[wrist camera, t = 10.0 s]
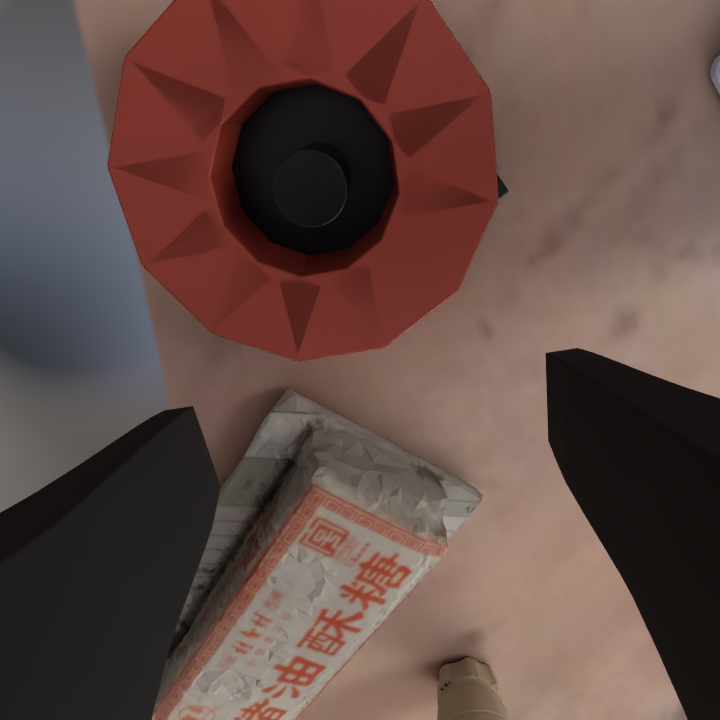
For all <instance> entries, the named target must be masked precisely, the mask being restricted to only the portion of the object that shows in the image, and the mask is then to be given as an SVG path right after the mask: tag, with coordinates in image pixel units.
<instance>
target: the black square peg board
mask: <svg viewBox="0 0 720 720" xmlns="http://www.w3.org/2000/svg"><path fill="white" fill-rule="evenodd" d="M231 168H232V172H233V176H234V180H235V184H236V188H237V191H238V195H239V199H240V203H241V207H242V210H243V212H244V213H245V214H246V215H247V216H248V217H249V218H250V220H251V221H252V222H253V223H254V224H255V225H256V226H257V227H258V228H259V229H260V231H261V232H262V233H263V234H264V235H265V236H266V237H267V238H268V239H269V240H270V242H272V243H275V244H278V245H281V246H284V247H286V248H289V249H292V250H295V251H298V252H301V253H303V254H306V255H314V254H320V253H325V252H331V251H336V250H342V249H348V248H349V247H351V246H352V245H353V244H354V243H355V242H356V241H358V240H359V239H360V238H361V237H362V236H364V235H365V234H366V233H367V232H368V231H369V230H371V229H372V228H373V227H374V226H375V225H377V224H378V223H379V221H380V218H381V216H382V213H383V210H384V207H385V205H386V202H387V199H388V197H389V194H390V191H391V188H392V186H393V183H394V180H393V173H392V167H391V160H390V153H389V146H388V139H387V137H386V135H385V134H384V133H383V131H382V130H381V129H380V127H379V126H378V125H377V123H376V122H375V121H374V120H373V118H372V117H371V116H370V114H369V113H368V112H367V110H366V109H365V108H364V106H363V105H362V104H361V102H360V101H358V100H356V99H353V98H351V97H348V96H346V95H343V94H341V93H338V92H336V91H333V90H331V89H328V88H326V87H323V86H321V85H318V84H315V85H310V86H305V87H300V88H295V89H290V90H285V91H280V92H275V93H273V94H272V95H271V96H270V97H269V98H268V99H267V100H266V101H265V102H264V103H263V104H262V105H261V106H260V107H259V108H258V109H257V110H256V111H255V112H254V113H253V114H252V115H251V116H250V117H249V118H248V119H247V120H246V121H245V122H244V123H243V124H242V127H241V131H240V135H239V139H238V143H237V147H236V151H235V155H234V159H233V163H232V167H231ZM497 186H498V200H499V199H500V198H501V197H502V196H504V195H505V194H506V193H507V192H508V189H507V188H506V186H505V185H504V183H503V182H502V180H501V179H500V178H499V176H498V175H497Z"/></svg>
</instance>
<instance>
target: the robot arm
mask: <svg viewBox="0 0 720 720" xmlns="http://www.w3.org/2000/svg"><path fill="white" fill-rule="evenodd" d="M710 75H711V79H712V81H713V83H714V85H715V87H716V89H717V91H718V93H719V95H720V54H719V55H718V57H717V58H716V59H715V60H714V62H713V64H712V66H711V70H710ZM546 378H547V410H548V441H549V443H550V446H551V448H552V451H553V453H554V456H555V458H556V461H557V463H558V466H559V468H560V470H561V473H562V475H563V477H564V480H565V482H566V484H567V485H568V487H569V489H570V491H571V492H572V494H573V496H574V497H575V499H576V501H577V502H578V504H579V506H580V508H581V509H582V511H583V513H584V514H585V516H586V518H587V519H588V521H589V523H590V524H591V526H592V528H593V529H594V531H595V533H596V534H597V536H598V538H599V539H600V541H601V543H602V544H603V546H604V548H605V549H606V551H607V553H608V554H609V556H610V558H611V559H612V561H613V563H614V564H615V566H616V568H617V569H618V571H619V573H620V574H621V576H622V578H623V580H624V582H625V584H626V585H627V587H628V589H629V591H630V593H631V595H632V597H633V598H634V601H635V603H636V605H637V607H638V609H639V611H640V613H641V616H642V618H643V620H644V622H645V624H646V626H647V629H648V631H649V633H650V635H651V637H652V639H653V642H654V644H655V646H656V648H657V650H658V652H659V655H660V657H661V659H662V661H663V664H664V666H665V668H666V671H667V673H668V675H669V677H670V680H671V682H672V684H673V686H674V689H675V691H676V693H677V696H678V698H679V700H680V702H681V705H682V707H683V709H684V711H685V714H686V716H687V719H688V720H720V398H717V397H713V396H710V395H707V394H704V393H701V392H698V391H695V390H692V389H689V388H686V387H683V386H680V385H677V384H674V383H672V382H669V381H666V380H663V379H661V378H658V377H655V376H653V375H650V374H647V373H645V372H642V371H639V370H637V369H634V368H632V367H629V366H627V365H624V364H622V363H619V362H616V361H614V360H611V359H609V358H606V357H603V356H601V355H598V354H595V353H592V352H589V351H586V350H583V349H578V348H576V349H569V350H563V351H556V352H549V353H546ZM219 491H220V483H219V480H218V478H217V475H216V472H215V469H214V466H213V463H212V460H211V457H210V454H209V451H208V448H207V445H206V443H205V440H204V437H203V434H202V431H201V428H200V425H199V422H198V419H197V416H196V413H195V410H194V408H193V406H191V407H185V408H178V409H172V410H165V411H163V412H161V413H159V414H157V415H155V416H153V417H151V418H149V419H148V420H146V421H145V422H143V423H141V424H140V425H138V426H137V427H135V428H134V429H132V430H131V431H129V432H128V433H126V434H125V435H123V436H122V437H120V438H119V439H117V440H116V441H114V442H113V443H111V444H110V445H108V446H107V447H105V448H104V449H102V450H101V451H99V452H98V453H96V454H95V455H93V456H92V457H90V458H89V459H88V460H86V461H85V462H83V463H81V464H80V465H78V466H77V467H75V468H74V469H72V470H70V471H69V472H67V473H66V474H64V475H63V476H61V477H59V478H58V479H56V480H55V481H53V482H52V483H50V484H48V485H47V486H45V487H44V488H42V489H41V490H39V491H37V492H36V493H34V494H32V495H31V496H29V497H28V498H26V499H24V500H22V501H20V502H19V503H17V504H15V505H13V506H12V507H10V508H8V509H6V510H4V511H2V512H1V513H0V720H152V716H153V712H154V707H155V703H156V699H157V695H158V691H159V687H160V683H161V679H162V675H163V671H164V667H165V663H166V659H167V655H168V652H169V648H170V645H171V642H172V639H173V636H174V633H175V630H176V627H177V624H178V621H179V618H180V616H181V613H182V610H183V608H184V605H185V602H186V599H187V597H188V594H189V591H190V588H191V586H192V583H193V580H194V578H195V575H196V572H197V569H198V567H199V564H200V561H201V558H202V556H203V553H204V550H205V547H206V544H207V542H208V539H209V536H210V533H211V530H212V526H213V522H214V517H215V513H216V508H217V502H218V497H219Z"/></svg>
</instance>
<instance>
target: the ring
mask: <svg viewBox="0 0 720 720" xmlns="http://www.w3.org/2000/svg"><path fill="white" fill-rule="evenodd" d="M315 84H318V85H321V86H323V87H326V88H328V89H331V90H333V91H336V92H338V93H341V94H343V95H346V96H348V97H351V98H353V99H356V100H358V101H360V102H361V104H362V105H363V106H364V108H365V109H366V110H367V112H368V113H369V114H370V116H371V117H372V118H373V120H374V121H375V122H376V123H377V125H378V126H379V127H380V129H381V130H382V131H383V133H384V134H385V135H386V137H387V139H388V146H389V153H390V160H391V167H392V173H393V180H394V183H393V186H392V188H391V191H390V194H389V197H388V199H387V202H386V205H385V207H384V210H383V213H382V216H381V218H380V221H379V223H378V224H377V225H375V226H374V227H373V228H372V229H371V230H369V231H368V232H367V233H366V234H365V235H364V236H362V237H361V238H360V239H359V240H358V241H356V242H355V243H354V244H353V245H352V246H351V247H349V248H348V249H342V250H336V251H331V252H325V253H320V254H314V255H306V254H303V253H301V252H298V251H295V250H292V249H289V248H286V247H284V246H281V245H278V244H275V243H272V242H270V240H269V239H268V238H267V237H266V236H265V235H264V234H263V233H262V232H261V231H260V229H259V228H258V227H257V226H256V225H255V224H254V223H253V222H252V221H251V220H250V218H249V217H248V216H247V215H246V214H245V213H244V212H243V210H242V207H241V203H240V199H239V195H238V191H237V188H236V184H235V180H234V176H233V172H232V168H231V167H232V163H233V159H234V155H235V151H236V147H237V143H238V139H239V135H240V131H241V127H242V124H243V123H244V122H245V121H246V120H247V119H248V118H249V117H250V116H251V115H252V114H253V113H254V112H255V111H256V110H257V109H258V108H259V107H260V106H261V105H262V104H263V103H264V102H265V101H266V100H267V99H268V98H269V97H270V96H271V95H272V94H273V93H275V92H280V91H285V90H290V89H295V88H300V87H305V86H310V85H315ZM108 170H109V173H110V176H111V179H112V181H113V184H114V187H115V190H116V193H117V196H118V199H119V201H120V204H121V207H122V210H123V213H124V216H125V219H126V221H127V224H128V227H129V230H130V233H131V236H132V238H133V241H134V244H135V247H136V250H137V253H138V255H139V258H140V261H141V264H142V265H144V268H145V269H146V270H147V271H148V272H149V273H150V274H151V275H152V276H153V277H154V278H155V279H156V280H158V281H159V282H160V283H161V284H162V285H163V286H164V287H165V288H166V289H167V290H168V291H169V292H170V293H171V294H172V295H173V296H174V297H175V298H176V299H177V300H178V301H179V302H180V303H181V304H182V305H183V306H184V307H185V308H186V309H187V310H188V311H189V312H190V313H191V314H192V315H193V316H194V317H195V318H197V319H198V320H199V321H200V322H201V323H202V324H203V325H204V326H205V327H206V328H207V329H208V330H209V331H210V332H213V334H215V335H218V336H221V337H224V338H228V339H231V340H234V341H237V342H240V343H243V344H246V345H249V346H252V347H255V348H258V349H261V350H265V351H268V352H271V353H274V354H277V355H280V356H283V357H286V358H289V359H292V360H295V361H297V360H298V361H305V360H311V359H318V358H324V357H330V356H336V355H342V354H348V353H354V352H360V351H367V350H373V349H379V348H384V347H385V346H387V345H389V344H390V343H391V342H393V341H394V340H395V339H396V338H398V337H399V336H400V335H402V334H403V333H404V332H406V331H407V330H408V329H410V328H411V327H412V326H413V325H415V324H416V323H417V322H419V321H420V320H421V319H423V318H424V317H425V316H427V315H428V314H429V313H431V312H432V311H433V310H434V309H436V308H437V307H438V306H440V305H441V304H442V303H444V302H445V301H446V300H448V299H449V298H450V297H451V296H453V295H454V294H455V293H456V292H457V291H458V290H459V288H460V286H461V283H462V281H463V279H464V277H465V275H466V272H467V270H468V268H469V266H470V264H471V261H472V259H473V257H474V255H475V253H476V250H477V248H478V246H479V244H480V242H481V239H482V237H483V235H484V233H485V230H486V228H487V226H488V224H489V222H490V219H491V217H492V215H493V213H494V211H495V208H496V206H497V204H498V186H497V172H496V157H495V143H494V129H493V115H492V101H491V93H490V91H489V88H488V87H487V85H486V84H485V82H484V81H483V79H482V78H481V76H480V74H479V73H478V71H477V70H476V68H475V67H474V65H473V64H472V62H471V61H470V59H469V58H468V56H467V55H466V53H465V52H464V50H463V49H462V47H461V46H460V44H459V43H458V41H457V40H456V38H455V37H454V35H453V34H452V32H451V31H450V29H449V28H448V26H447V25H446V23H445V22H444V20H443V19H442V17H441V16H440V14H439V13H438V11H437V10H436V8H435V7H434V5H433V4H432V2H431V1H430V0H174V1H173V2H172V3H171V4H170V5H169V7H168V8H167V9H166V10H165V11H164V12H163V13H162V15H161V16H160V17H159V18H158V19H157V20H156V21H155V23H154V24H153V25H152V26H151V27H150V28H149V29H148V30H147V32H146V33H145V34H144V35H143V36H142V37H141V38H140V40H139V41H138V42H137V43H136V44H135V45H134V46H133V48H132V49H131V50H130V51H129V52H128V53H127V54H126V57H125V58H124V63H123V70H122V76H121V82H120V89H119V95H118V101H117V108H116V114H115V121H114V127H113V133H112V140H111V146H110V152H109V159H108Z"/></svg>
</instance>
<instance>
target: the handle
mask: <svg viewBox="0 0 720 720" xmlns="http://www.w3.org/2000/svg"><path fill="white" fill-rule="evenodd" d="M499 688H500V687H499V684H498V681H497V678H496V676H495V674H494V672H493V670H492V668H491V667H490V666H489V665H487V664H482V663H479V662H477V661H476V660H475V659H474V658H472V657H465V658H464V659H463V660H461V661H458V662H455V663H450V664H449V663H446V664H445V665H443V667H442V668H441V669H440V671H439V684H438V693H437V696H438V717H437V720H510V717H509V715H508V712H507V710H506V707H505V705H504V703H503V700H502V698H501V696H500V695H499V694H498V693H497V690H498V689H499Z"/></svg>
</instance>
